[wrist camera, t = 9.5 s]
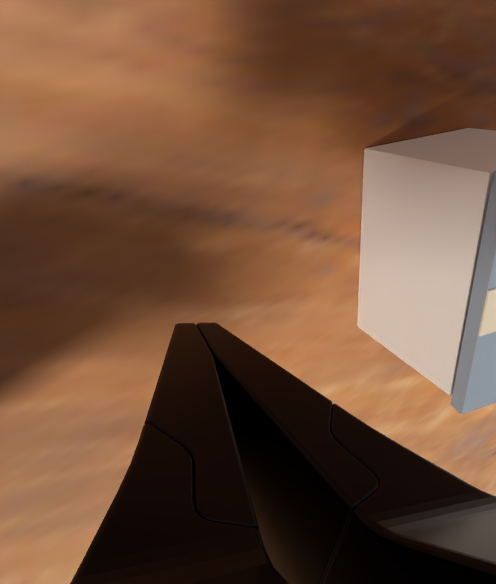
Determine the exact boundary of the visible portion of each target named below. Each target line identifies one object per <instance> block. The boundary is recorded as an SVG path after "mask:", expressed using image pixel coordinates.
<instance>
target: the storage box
mask: <svg viewBox="0 0 496 584" xmlns="http://www.w3.org/2000/svg"><path fill="white" fill-rule="evenodd" d="M494 171H496V131H495V130H485V129H475V128H465V129H460V130H455V131H450V132H445V133H440V134H435V135H430V136H425V137H420V138H415V139H410V140H405V141H400V142H395V143H390V144H385V145H380V146H374V147H369V148H364V167H363V192H362V218H361V243H360V269H359V294H358V320H357V327H359V328H360V329H361V330H363V331H364V332H365V333H367V334H368V335H370V336H371V337H372V338H374V339H375V340H376V341H378V342H379V343H380V344H382V345H383V346H384V347H386V348H387V349H388V350H390V351H391V352H392V353H394V354H395V355H396V356H398V357H399V358H400V359H402V360H403V361H404V362H406V363H407V364H408V365H410V366H411V367H412V368H414V369H415V370H416V371H418V372H419V373H420V374H422V375H423V376H424V377H426V378H427V379H428V380H430V381H431V382H432V383H434V384H435V385H436V386H438V387H439V388H441V389H442V390H443V391H445V392H446V393H447V394H449V395H451V394H453V389H454V384H455V378H456V373H457V368H458V362H459V357H460V351H461V346H462V341H463V335H464V330H465V325H466V319H467V314H468V308H469V303H470V298H471V292H472V287H473V282H474V276H475V271H476V265H477V260H478V255H479V249H480V244H481V239H482V233H483V228H484V222H485V217H486V212H487V206H488V201H489V195H490V190H491V185H492V179H493V174H494Z"/></svg>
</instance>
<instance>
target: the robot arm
mask: <svg viewBox="0 0 496 584" xmlns="http://www.w3.org/2000/svg"><path fill="white" fill-rule="evenodd" d="M70 584H496V496H493V495H491V494H488V493H486V492H483V491H481V490H479V489H477V488H475V487H473V486H472V485H470V484H468V483H466V482H464V481H463V480H461V479H459V478H457V477H456V476H454V475H452V474H450V473H449V472H447V471H445V470H443V469H442V468H440V467H438V466H436V465H435V464H433V463H431V462H429V461H428V460H426V459H424V458H422V457H421V456H419V455H417V454H415V453H414V452H412V451H410V450H408V449H407V448H405V447H403V446H401V445H400V444H398V443H396V442H395V441H393V440H391V439H390V438H388V437H386V436H385V435H383V434H381V433H380V432H378V431H376V430H375V429H373V428H371V427H370V426H368V425H367V424H365V423H364V422H362V421H361V420H359V419H358V418H356V417H354V416H353V415H351V414H350V413H348V412H347V411H345V410H344V409H343V408H341V407H340V406H338V405H337V404H333V405H332V401H331V400H329V399H328V398H326V397H325V396H323V395H322V394H320V393H319V392H317V391H316V390H314V389H313V388H311V387H310V386H308V385H307V384H305V383H304V382H302V381H301V380H300V379H298V378H297V377H295V376H294V375H292V374H291V373H289V372H288V371H286V370H285V369H283V368H282V367H280V366H279V365H277V364H276V363H274V362H273V361H271V360H270V359H269V358H267V357H266V356H264V355H263V354H261V353H260V352H258V351H257V350H255V349H254V348H252V347H251V346H249V345H248V344H246V343H245V342H243V341H242V340H240V339H239V338H238V337H236V336H235V335H233V334H232V333H230V332H229V331H227V330H226V329H224V328H223V327H221V326H220V325H218V324H217V323H198V324H197V325H196V324H194V323H179V324H176V325H175V328H174V331H173V334H172V337H171V340H170V344H169V347H168V350H167V353H166V356H165V360H164V363H163V366H162V369H161V372H160V376H159V379H158V382H157V385H156V388H155V392H154V395H153V398H152V401H151V404H150V408H149V411H148V414H147V417H146V420H145V425H144V426H143V429H142V432H141V435H140V439H139V442H138V444H137V447H136V450H135V453H134V455H133V458H132V461H131V464H130V466H129V468H128V470H127V472H126V475H125V477H124V479H123V481H122V483H121V486H120V488H119V490H118V492H117V494H116V496H115V498H114V500H113V502H112V504H111V506H110V508H109V510H108V512H107V514H106V516H105V517H104V519H103V521H102V523H101V525H100V527H99V529H98V531H97V533H96V535H95V537H94V539H93V541H92V543H91V545H90V547H89V549H88V551H87V553H86V555H85V557H84V559H83V561H82V563H81V565H80V566H79V568H78V570H77V572H76V574H75V576H74V577H73V579H72V581H71V583H70Z"/></svg>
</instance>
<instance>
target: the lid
mask: <svg viewBox="0 0 496 584" xmlns="http://www.w3.org/2000/svg"><path fill="white" fill-rule="evenodd" d="M495 402H496V171H494V174H493V179H492V185H491V190H490V195H489V201H488V206H487V212H486V217H485V222H484V228H483V233H482V239H481V244H480V249H479V255H478V260H477V265H476V271H475V276H474V282H473V287H472V292H471V298H470V303H469V308H468V314H467V319H466V325H465V330H464V335H463V341H462V346H461V351H460V357H459V362H458V368H457V373H456V378H455V384H454V389H453V395H452V400H451V405H452V406H453V407H454V408H455V409H456V410H457V411H458V412H459V413H461V414H465V413H468V412H470V411H473V410H476V409H479V408H481V407H484V406H487V405H490V404H492V403H495Z"/></svg>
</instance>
